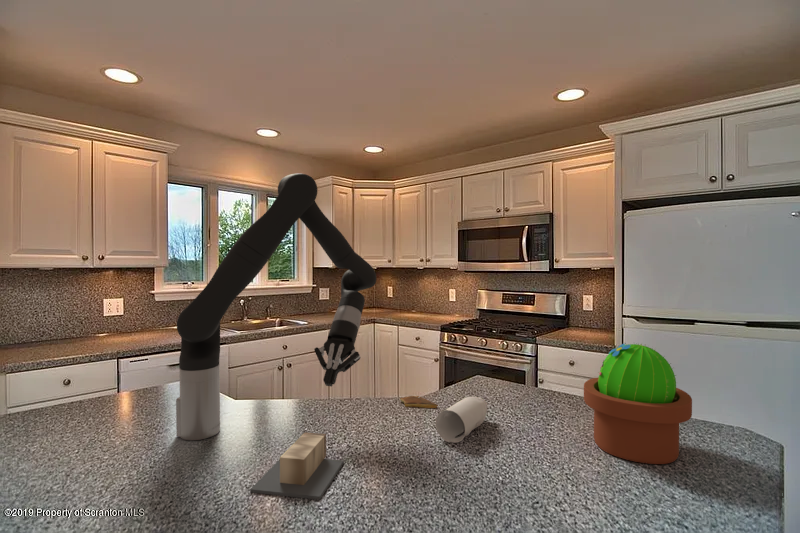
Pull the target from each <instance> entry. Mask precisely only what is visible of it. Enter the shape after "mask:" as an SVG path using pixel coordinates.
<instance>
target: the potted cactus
mask: <svg viewBox="0 0 800 533" xmlns="http://www.w3.org/2000/svg"><path fill="white" fill-rule="evenodd" d="M653 348H654V347H653V346H652V347H649V346H647V345H643V343H640V344H639V343H636V344H635V343H632V344H631V343H630V344H627V343H626V342H624V343H622V344H620V345H619V346H617V347H613V348H612V349H611V350H610V351H609V352H607V354H608V355H607V356H606V357H605V359H603V361H602V365H600V371H598V372H597V373H599V374H598V377H593V378H590V379H588V380H586V381H585V382H584V383H583V401H584V403H585V404H586V405H587V406H588V407H589V408H591V409H592V410H593V440H594V442H595V444H596V446H598V449H601V450H602V451H604V452H605V453H607V454H609V455H611V456H614V457H616V458H620V459H622V460H626V461H631V462H635V463H640V464H649V465H666V464H671V463H673V462H676V460H677V459H678V458H679V455H680V424H682V423H685V422H688V421H690V419H691V418H692V416H693V399H692V397H691V395H690V394H689V393H688V392H686V391H684V390H683V389H681V388H679V387H677V384H678V382H677V380H676V374H675V371H674V370H673V369H675V367H672V366H671V363H669V362H668V361H669V360H667V359H666V358H665V356H663V355H662V354H660V353H659V352H658V351H656V349H657V348H656V347H655V348H654V349H653Z"/></svg>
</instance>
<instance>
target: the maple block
mask: <svg viewBox="0 0 800 533" xmlns="http://www.w3.org/2000/svg"><path fill="white" fill-rule="evenodd" d="M326 457H327V434H326V433H320V432H319V433H318V432H317V433H316V432H304V433H303V434H301V435H300V437H298V439H297V440H296V441H295V442H294V443H292V445H290V446H289V447H288V449H287V450H286V451H285V452H284V453H283V454H282V455H281V456H279V460H280V483H288V484H298V485H304V484H305V483H306V482H307V480H308V479H309V478H310V477H311V475H312V474H313V473H314V471H315V470H316V469H317V467H318V466H319V465H320V463H321V462H322V461H323V460H324V459H326Z"/></svg>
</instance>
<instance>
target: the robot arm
mask: <svg viewBox="0 0 800 533" xmlns="http://www.w3.org/2000/svg"><path fill="white" fill-rule="evenodd" d="M317 196H318V185H317V182H316V181H315V179H314V178H313V177H312V176H311V175H308V174H306V173H301V172H300V173H298V172H296V173H291V174H288V175H286V176H284V177H282V178H281V180H280V181H279V183H278V186H277V196H276V198H275V200H274V201H273V202H272V203H271V205H270V207H268V209H267V211H266V212H264V214H262V216H260V217H259V218H258V219H257V220H256V221H255V222H254V223H252V224H251V225H250V226H249V227H248V228H247V229H246V230H244V232H243V233H242V234H241V235H240V236H239V237H238V239H237V240H236V241H235V243H234V244H233V245H232V247H231V248H230V249H229V250H228V252H227V253H226V255H225V256H224V258H223V259H222V261H221V262H220V264H219V266H218V267H217V268H216V271H215V272H214V274H213V276H212V277H211V279H210V280H209V281H208V283H207V284H206V286H205V287H204V288H203V289H202V290H201V292H200V293H199V294H198V295H197V296H196V297H195V298H194V299H193V300H192V301H191V302H190V303H189V304H188V305H187V306H186V307H185V308H184V309H182V311H180V313H179V315H178V317H177V320H176V330H177V334H178V335H179V336H180V338H181V340H180V341H181V345H180V354H179V361H178V364H179V366H178V367H179V368H178V369H179V372H178V374H179V376H178V377H179V396H178V397H177V398H176V400H175V415H176V416H175V417H176V418H175V422H176V424H175V426H176V431H175V432H176V433H175V434H176V437H179V438H181V439H182V440H184V441H199V440H204V439H207V438H208V439H209V438H211V437H214V436H216V435H217V434H218V433H219V432H220V431H221V394H220V393H221V392H220V388H221V387H220V386H221V384H220V380H221V379H220V357H221V356H220V355H221V321H222V319H223V317H224V316H225V314H226V312H228V311H227V310H229V308H230V306H231V305H232V303H233V302H234V300H235V299H236V298H238V296H239V295H240V294H241V293H242V292H243V291H244V290H245V289H246V288H247V287H248V286H249V285H250V283H251V282H252V281H254V279H255V278H256V277H257V276H258V274H259V273H260V272H261V271H262V270H263V269H264V267H265V266H266V264H267V263H268V262H269V260H270V259H271V258H272V256H273V254H274V253H275V251H276V250H277V248H279V246H280V244H281V243H282V241H283V240H284V239H285V236H286V235H287V233H288V232H289V231H290V230H291V228H292V227H293V225H294V224H295V223H296V222H298V220H299V219H300V221H301V222H302V223H303V224H304V225H305V227H306V228H307V230H309V232H310V233H311V234H312V236H313V237H314V238H315V239H316V241H317V243H318V244H319V245H320V247H321V248H322V250H323V251H324V252H325V254H326V255H327V257H328V258H329V259H330V260H331V262H332V263H333V265H334V266H335V267H336V268H337V269H342V270H343V269H345V270H346V269H347V270H346V271H345V272H344V273H343V274H342V277H341V280H340V281H341V282H340V295H341V296H340V300H339V302H338V306H337V309H336V311H335V313H334V316H333V320H332V323H331V325H330V329H329V332H328V335H327V339H326V341H325V342H324V344H323V346H321V347H318V346H317V347H315V348H314V351H313V352H314V353H315V355H316V356H317V359H318V362H319V364H320V366H321V367H322V370H324V372H325V373H324V376H323V383H324V385H325V386H326V387H333V385H335V384H336V381H337V378H338V375H339V373H340V372H341V373H342V372H343V373H345V372H347V370H349V369H350V368H352V366H354V365H355V364H356V363H358V361H360V360H361V354H360V353H359V351H357V350H356V347H355V344H356V341H357V337H358V333H359V329H360V327H361V322H362V315H363V310H364V307H365V304H366V302H365V301H366V300H365V296H364V295H363V294H362V293H361V291H364V290H367V289H370V288H372V287H374V286H375V285H376V283H377V274H376V271H375V269H374V268H373V267H372V265H371V264H370V263H368V261H366V260H365V259H364V258H363V257H362V256H361V255H359V254H358V253H357V252H355V250H354V249H353V247H352V246H351V244H350V243H349V242H348V240H347V238H346V237H345V236H344V235H343V234H342V232H341V231H340V229H338V228H337V227H336V226H335V225H334V223H333V222H331V221H330V219H329V218H328V217H327V216H326V215H325V214H324V212H323V211H322V210H321V208H320V207H319V205H318V204H317V202H316V199H317ZM325 354H326V355H327V362H326V360H325V359H324V355H325Z"/></svg>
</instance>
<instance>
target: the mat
mask: <svg viewBox="0 0 800 533" xmlns="http://www.w3.org/2000/svg"><path fill="white" fill-rule="evenodd" d="M344 462H345V460H339V459H331V458H324V460H323V461H322V462H321V463H320V465H319V466H318V467H317V469H316V470H315V471H314V473H313V474H312V475H311V477H310V478H309V479H308V480H307V482H306V483H305V484H304V485H298V484H288V483H280V459H278V460H277V461H276V462H275V464H273V466H271V467H270V468H269V470H268V471H267V472H266V473H265V474H264V475H262V477H261V478H259V479H258V481H257V482H256V483H255V484H253V486H252V487H251V488H250V489H249V491H250V493H252V494H253V493H254V494H264V495H272V496H280V497H289V498H290V497H291V498H298V499H300V498H301V499H307V500H308V499H309V500H317V501H318V500H319V501H320V500H321V499H322V497H323V496H324V494H325V493H326V491H327V490H328V488H329V487H330V485H331V484H332V482H333V481H334V479H335V477H336V476H337V474H338V473H339V471H340V469H342V466H343V465H344Z"/></svg>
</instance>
